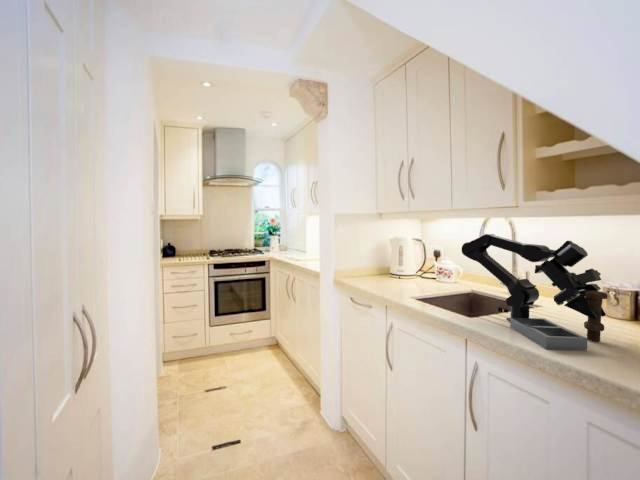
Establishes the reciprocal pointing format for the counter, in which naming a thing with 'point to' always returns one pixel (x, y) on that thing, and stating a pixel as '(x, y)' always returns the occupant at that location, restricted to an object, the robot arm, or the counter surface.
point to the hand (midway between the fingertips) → (600, 317)
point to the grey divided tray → (549, 334)
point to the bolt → (595, 304)
